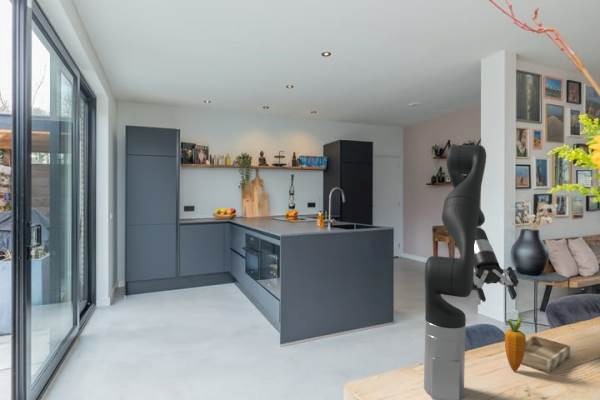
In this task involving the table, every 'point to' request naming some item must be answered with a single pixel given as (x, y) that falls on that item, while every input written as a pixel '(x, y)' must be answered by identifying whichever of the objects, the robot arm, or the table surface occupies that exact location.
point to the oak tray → (544, 354)
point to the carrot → (515, 344)
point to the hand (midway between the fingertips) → (499, 299)
